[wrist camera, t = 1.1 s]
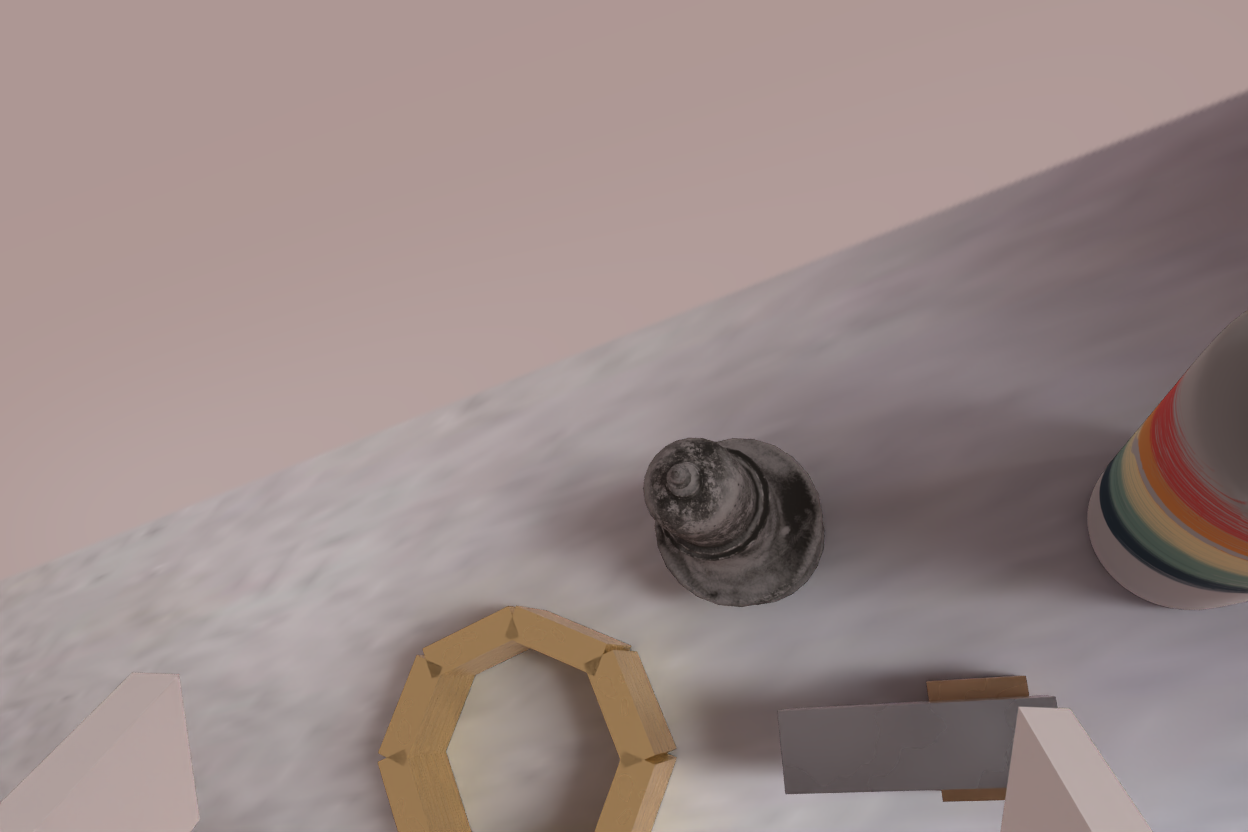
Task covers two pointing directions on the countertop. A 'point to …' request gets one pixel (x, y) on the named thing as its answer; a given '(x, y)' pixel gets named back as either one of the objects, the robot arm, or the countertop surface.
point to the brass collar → (441, 687)
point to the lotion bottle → (1183, 488)
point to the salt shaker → (734, 519)
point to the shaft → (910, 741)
